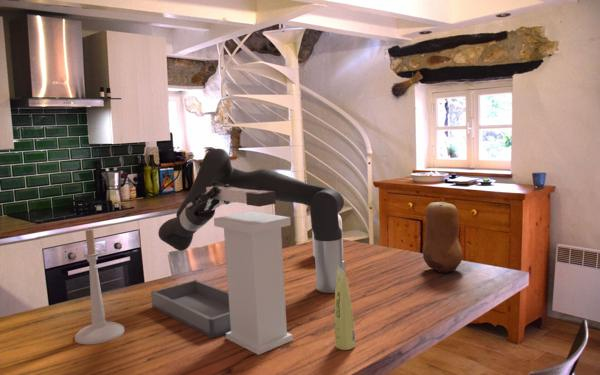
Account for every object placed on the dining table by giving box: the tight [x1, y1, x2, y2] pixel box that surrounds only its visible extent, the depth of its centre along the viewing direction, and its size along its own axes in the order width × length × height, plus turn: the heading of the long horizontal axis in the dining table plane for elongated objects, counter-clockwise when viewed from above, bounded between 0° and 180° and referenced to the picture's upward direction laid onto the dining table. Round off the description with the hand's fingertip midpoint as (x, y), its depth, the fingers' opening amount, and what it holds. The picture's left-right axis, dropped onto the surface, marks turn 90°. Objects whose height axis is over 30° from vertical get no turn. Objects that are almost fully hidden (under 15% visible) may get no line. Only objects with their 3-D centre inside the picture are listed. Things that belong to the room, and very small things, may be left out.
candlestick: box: [74, 227, 126, 345], centre depth 137 cm, size 13×13×30 cm
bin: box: [150, 279, 231, 339], centre depth 150 cm, size 35×16×5 cm, turn 42°
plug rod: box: [206, 185, 277, 207], centre depth 129 cm, size 25×5×3 cm, turn 42°
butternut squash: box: [422, 201, 463, 274], centre depth 179 cm, size 14×13×25 cm
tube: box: [334, 266, 356, 351], centre depth 122 cm, size 6×5×20 cm
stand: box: [213, 210, 294, 356], centre depth 128 cm, size 16×12×32 cm
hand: (223, 188), depth 134 cm, fingers closed on plug rod, 3 cm apart
